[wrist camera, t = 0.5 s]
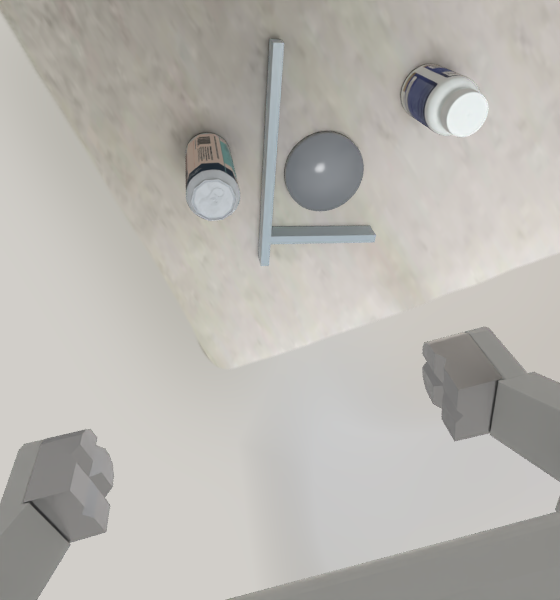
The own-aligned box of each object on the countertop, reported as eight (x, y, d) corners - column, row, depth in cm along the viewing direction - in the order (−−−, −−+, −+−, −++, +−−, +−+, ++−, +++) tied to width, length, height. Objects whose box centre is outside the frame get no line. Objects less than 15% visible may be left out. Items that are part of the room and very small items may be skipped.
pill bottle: (411, 126, 52) (450, 156, 44) (391, 84, 49) (430, 108, 41) (454, 96, 50) (503, 122, 43) (437, 51, 47) (486, 70, 40)
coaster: (287, 130, 50) (289, 133, 49) (367, 132, 51) (370, 135, 50) (281, 207, 55) (282, 211, 54) (353, 207, 56) (356, 210, 56)
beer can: (177, 160, 50) (175, 208, 40) (199, 122, 48) (203, 163, 38) (215, 183, 52) (223, 234, 42) (238, 147, 50) (251, 192, 40)
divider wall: (269, 38, 44) (273, 42, 42) (406, 47, 47) (416, 51, 45) (258, 255, 58) (260, 265, 56) (363, 253, 61) (369, 263, 59)
